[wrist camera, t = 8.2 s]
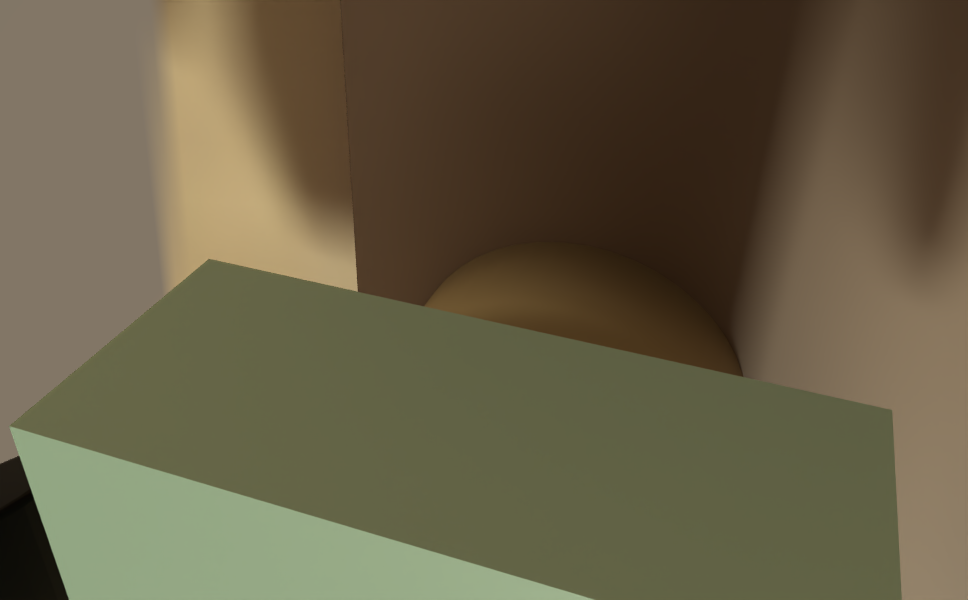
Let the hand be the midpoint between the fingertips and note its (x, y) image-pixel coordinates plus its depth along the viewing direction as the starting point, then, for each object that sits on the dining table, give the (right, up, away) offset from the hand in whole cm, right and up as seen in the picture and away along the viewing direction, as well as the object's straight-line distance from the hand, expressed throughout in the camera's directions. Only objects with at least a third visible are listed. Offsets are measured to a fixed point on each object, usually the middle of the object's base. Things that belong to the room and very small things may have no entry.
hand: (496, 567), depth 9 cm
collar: (0, 0, 0) cm, 0 cm away
